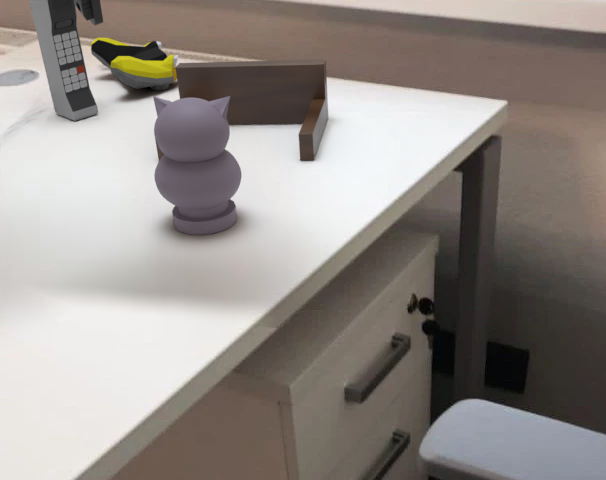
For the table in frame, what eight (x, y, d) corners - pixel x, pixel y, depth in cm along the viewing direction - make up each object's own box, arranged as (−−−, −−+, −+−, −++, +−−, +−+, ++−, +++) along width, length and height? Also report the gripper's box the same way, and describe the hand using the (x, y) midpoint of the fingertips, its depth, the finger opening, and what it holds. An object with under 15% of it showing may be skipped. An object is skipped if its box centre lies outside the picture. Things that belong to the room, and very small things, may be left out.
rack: (314, 160, 100) (310, 96, 95) (158, 161, 102) (148, 99, 98) (328, 118, 110) (325, 59, 106) (187, 120, 113) (179, 62, 109)
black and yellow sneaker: (120, 103, 120) (189, 90, 123) (112, 61, 117) (184, 48, 119) (93, 76, 131) (158, 64, 134) (85, 36, 127) (152, 25, 130)
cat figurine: (150, 236, 87) (127, 112, 79) (178, 203, 93) (159, 84, 85) (233, 240, 85) (217, 113, 77) (255, 206, 91) (243, 85, 83)
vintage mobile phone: (74, 122, 115) (24, -103, 99) (55, 114, 118) (4, -105, 102) (99, 114, 117) (53, -108, 101) (79, 106, 120) (32, -110, 104)
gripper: (181, -281, 60) (192, -56, 74) (-14, -225, 56) (38, 1, 70) (240, -222, 57) (239, -2, 72) (41, -159, 53) (83, 61, 68)
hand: (140, 0), depth 71 cm, fingers open, 8 cm apart
